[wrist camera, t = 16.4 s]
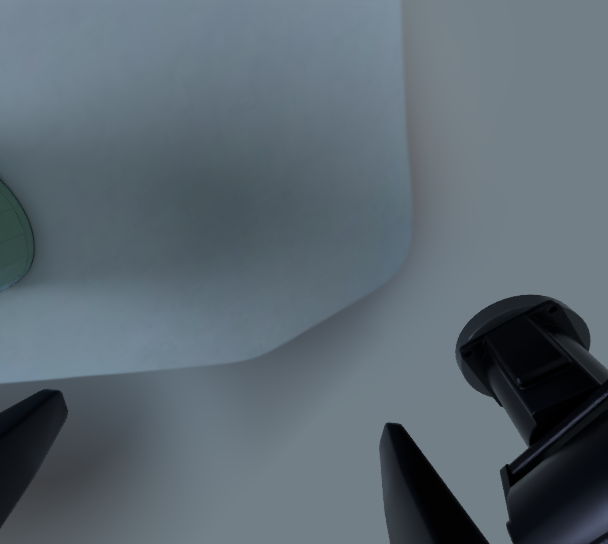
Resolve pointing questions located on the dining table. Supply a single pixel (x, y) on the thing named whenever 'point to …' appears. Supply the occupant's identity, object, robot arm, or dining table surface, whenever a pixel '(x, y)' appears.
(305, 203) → the dining table surface
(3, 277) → the green cup
